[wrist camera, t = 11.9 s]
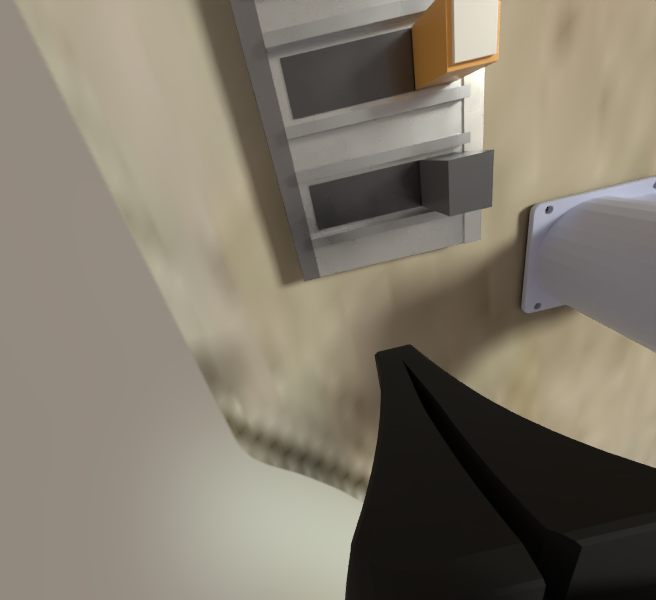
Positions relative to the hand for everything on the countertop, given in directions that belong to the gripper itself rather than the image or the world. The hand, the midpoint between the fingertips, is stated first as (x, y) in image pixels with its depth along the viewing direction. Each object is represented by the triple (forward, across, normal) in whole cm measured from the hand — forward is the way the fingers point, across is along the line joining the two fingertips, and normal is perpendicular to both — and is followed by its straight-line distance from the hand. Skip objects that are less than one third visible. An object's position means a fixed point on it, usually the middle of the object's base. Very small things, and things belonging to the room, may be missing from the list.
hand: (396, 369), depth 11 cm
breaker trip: (+8, -6, -10) cm, 14 cm away
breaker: (+8, -6, -5) cm, 11 cm away
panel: (+10, -2, -10) cm, 15 cm away
